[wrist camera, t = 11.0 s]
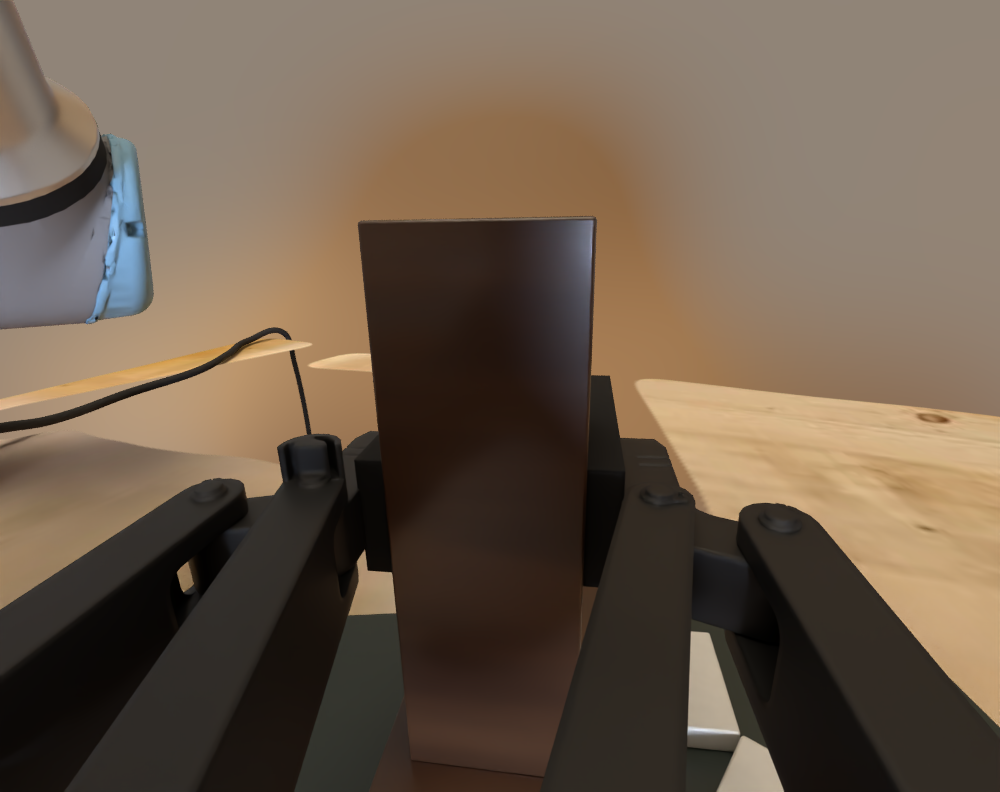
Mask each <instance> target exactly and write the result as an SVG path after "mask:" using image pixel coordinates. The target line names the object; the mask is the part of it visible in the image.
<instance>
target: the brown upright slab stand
mask: <svg viewBox="0 0 1000 792" xmlns="http://www.w3.org/2000/svg"><path fill="white" fill-rule="evenodd" d="M596 227H597V220H596V217H593V216H579V217H578V216H577V217H576V216H575V217H525V218H524V217H523V218H476V219H475V218H474V219H473V218H472V219H427V220H426V219H421V220H373V221H360V222H359V223H358V230H359V240H360V251H361V260H362V271H363V281H364V290H365V301H366V310H367V321H368V331H369V341H370V352H371V362H372V372H373V382H374V392H375V402H376V412H377V423H378V433H379V443H380V453H381V463H382V473H383V483H384V493H385V503H386V514H387V524H388V534H389V544H390V554H391V564H392V574H393V584H394V594H395V605H396V615H397V625H398V635H399V645H400V655H401V665H402V675H403V686H404V697H403V700H402V703H401V705H400V708H399V711H398V713H397V716H396V719H395V722H394V724H393V727H392V730H391V732H390V735H389V738H388V741H387V743H386V746H385V749H384V751H383V754H382V757H381V760H380V762H379V765H378V768H377V771H376V773H375V776H374V779H373V781H372V784H371V787H370V790H369V792H540V789H541V786H542V782H543V779H544V775H545V772H546V768H547V765H548V761H549V758H550V754H551V751H552V747H553V744H554V740H555V737H556V733H557V730H558V726H559V723H560V719H561V716H562V712H563V709H564V705H565V702H566V698H567V695H568V691H569V688H570V684H571V681H572V677H573V674H574V670H575V667H576V663H577V660H578V656H579V653H580V649H581V646H582V642H583V639H584V635H585V632H586V628H587V625H588V621H589V618H590V614H591V611H592V607H593V604H594V600H595V597H596V593H597V590H598V587H584V586H583V574H584V547H585V521H586V494H587V467H588V441H589V414H590V387H591V361H592V360H591V359H592V334H593V307H594V281H595V280H594V279H595V253H596Z"/></svg>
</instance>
